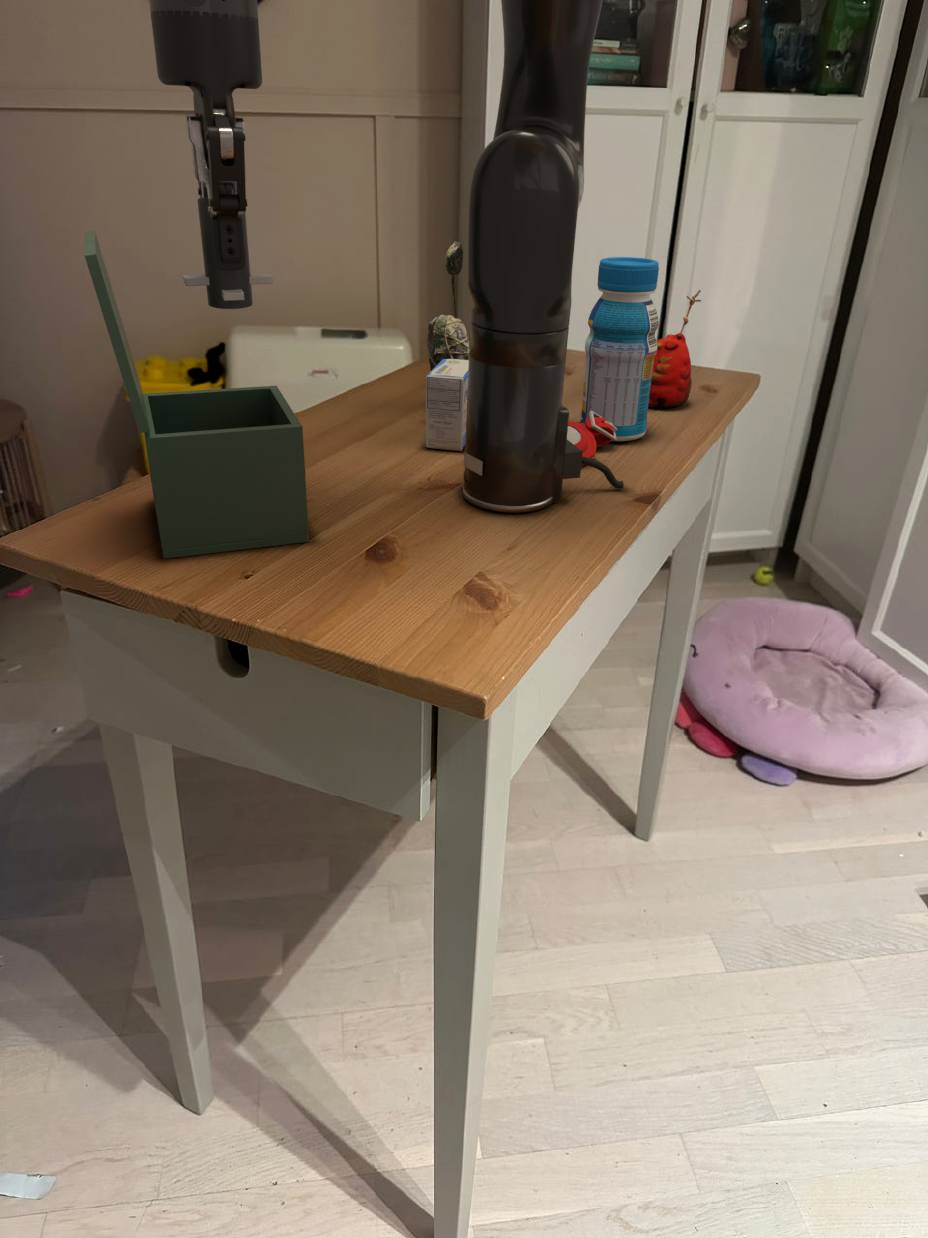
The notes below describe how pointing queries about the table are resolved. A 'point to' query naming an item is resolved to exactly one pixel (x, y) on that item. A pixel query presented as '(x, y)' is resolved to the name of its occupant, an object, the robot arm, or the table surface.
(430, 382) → the medicine box
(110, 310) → the lid
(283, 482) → the chest
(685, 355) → the red clay folk toy
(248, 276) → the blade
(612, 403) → the beverage bottle
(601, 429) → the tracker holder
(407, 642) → the table surface
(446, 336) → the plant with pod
